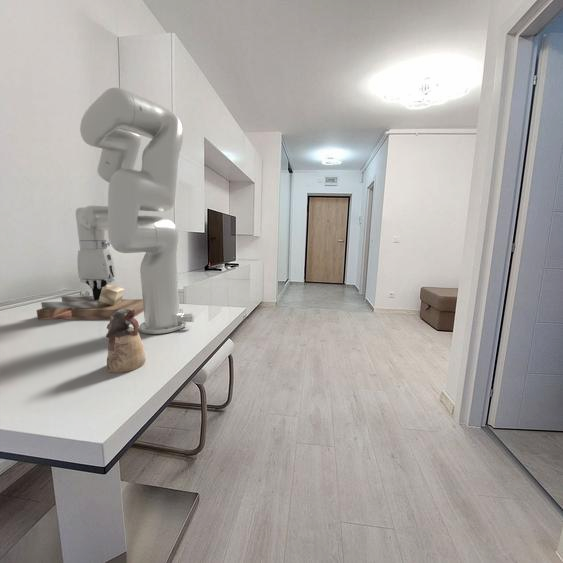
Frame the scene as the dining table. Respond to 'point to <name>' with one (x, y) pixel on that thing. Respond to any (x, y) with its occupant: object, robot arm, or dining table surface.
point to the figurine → (124, 343)
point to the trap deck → (86, 308)
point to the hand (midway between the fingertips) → (99, 299)
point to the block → (111, 295)
